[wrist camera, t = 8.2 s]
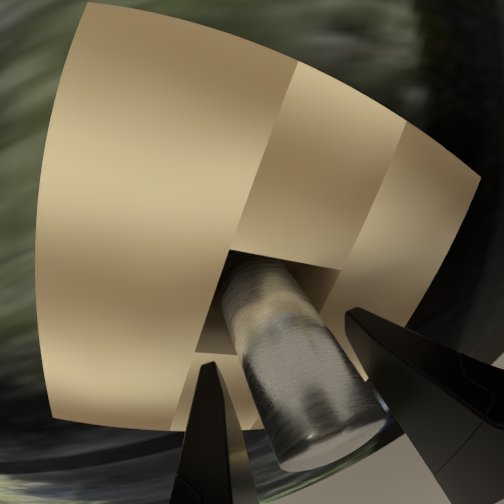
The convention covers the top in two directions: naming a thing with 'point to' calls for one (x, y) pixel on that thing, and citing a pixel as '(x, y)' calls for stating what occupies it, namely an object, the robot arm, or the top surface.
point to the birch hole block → (215, 210)
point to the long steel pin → (294, 366)
